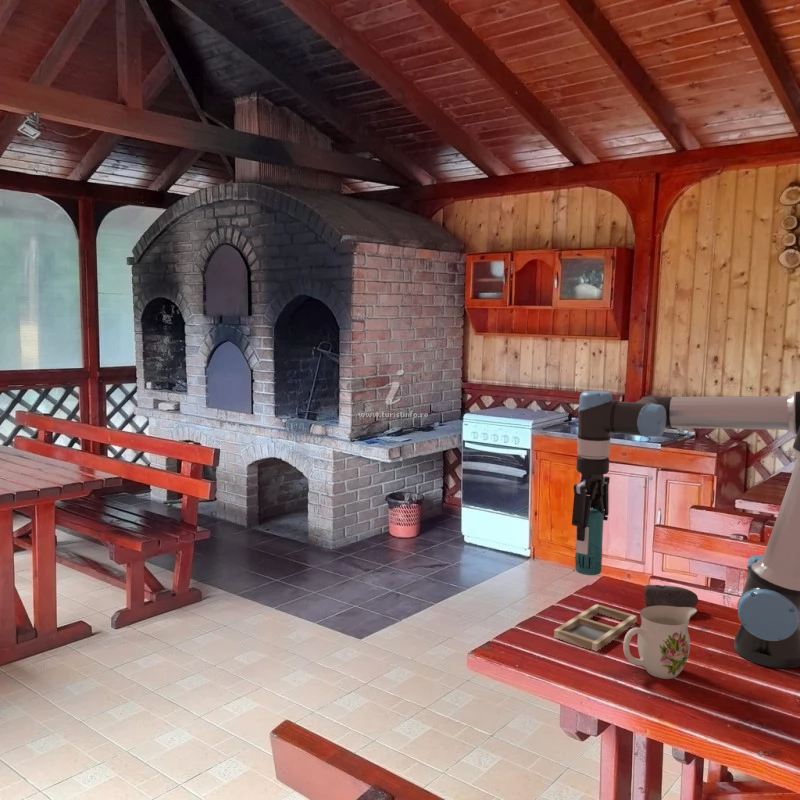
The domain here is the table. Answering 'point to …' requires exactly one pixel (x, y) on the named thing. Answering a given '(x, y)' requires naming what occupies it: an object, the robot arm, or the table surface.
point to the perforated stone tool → (669, 596)
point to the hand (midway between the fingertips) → (589, 549)
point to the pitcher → (661, 640)
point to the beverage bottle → (592, 543)
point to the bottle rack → (594, 628)
